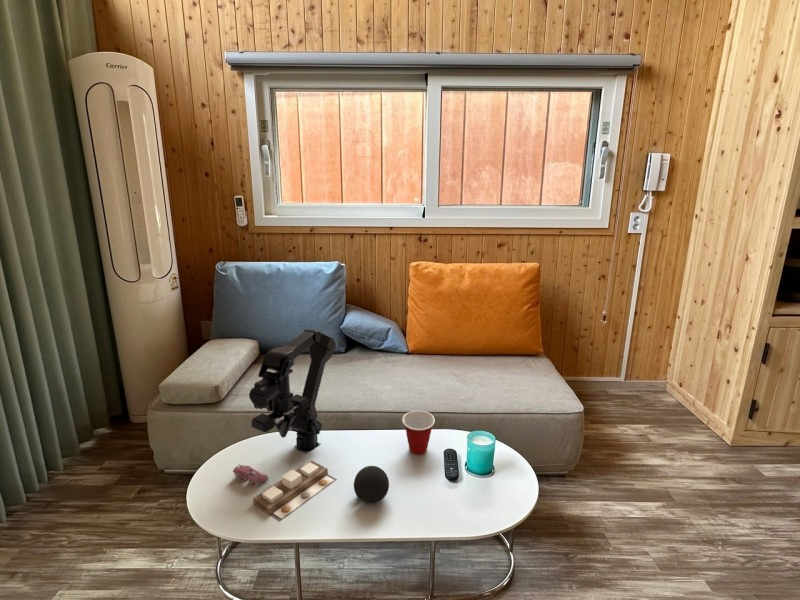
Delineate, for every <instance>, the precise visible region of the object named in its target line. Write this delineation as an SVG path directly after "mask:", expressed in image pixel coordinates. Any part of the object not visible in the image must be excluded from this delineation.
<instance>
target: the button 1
mask: <svg viewBox="0 0 800 600" xmlns="http://www.w3.org/2000/svg"><path fill="white" fill-rule="evenodd" d="M272 486H273V485H272ZM270 487H271V486H270ZM270 487H269V488H270ZM267 489H268V488H267ZM267 489H266V490H267ZM264 491H265V490H264ZM264 491H262V492H263V493H262V492H261V493H262V498H263V499H265V500H267V501H268V502H270V503H271V504H272V503H273V502H275V501H276V500H278V499H279V498H280V497H282V496H283V491H281V490H280V489H278V488H276V487H275V486H273V487H271V488H270V489H268V490H267V491H265V492H264Z"/></svg>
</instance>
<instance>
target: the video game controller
mask: <svg viewBox="0 0 800 600" xmlns="http://www.w3.org/2000/svg"><path fill="white" fill-rule="evenodd" d="M232 472H233V475H234V477H236V478H238V477H239V478H240V479H242V480H245V481H248V482H249V484H250V485H252V484H253V485H254V484H264V483H266V482H267V481H268V480H269V476H268V475H267V474H264V473H260V472H259V471H257V470H255V469H254V468H252V467H251V466H249V465H243V464H237V466H235V467H234V469H232Z"/></svg>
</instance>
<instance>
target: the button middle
mask: <svg viewBox="0 0 800 600" xmlns="http://www.w3.org/2000/svg"><path fill="white" fill-rule="evenodd" d="M281 480H282V485H284V486H285V487H287V488H289V489H290V490H292V489H294V488H295V487H296V486H298V485H299V484H301V483H302V475H301V474H300V473H298V472H296V470H294V469H290V470H288V472H285V473H284V474H283V475H281Z"/></svg>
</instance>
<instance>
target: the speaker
mask: <svg viewBox="0 0 800 600" xmlns="http://www.w3.org/2000/svg"><path fill="white" fill-rule="evenodd" d="M389 488H390V479H389V478H388V475H387V472H385V471H384V470H383V469H382V468H380V467H378V466H376V465H367V466H365V467H362V468H360V470H359V471H358V472H357V474H356V475H355V478H354V480H353V489H354V490H353V491H354V493H355V495H356V497H357V498H358V499H359V500H360V501H361V502H362V503H365V504H370V505H373V504H377V503H379V502H381V501H382V500H383V499H384V498H385V497H386V496H387V495H388V492H389Z"/></svg>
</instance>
